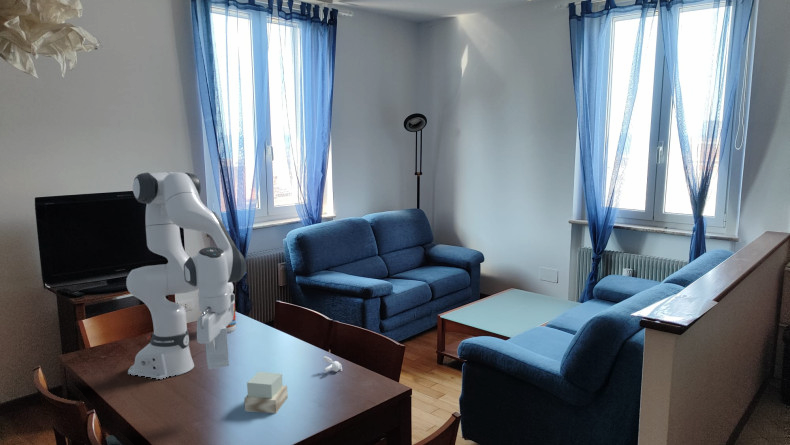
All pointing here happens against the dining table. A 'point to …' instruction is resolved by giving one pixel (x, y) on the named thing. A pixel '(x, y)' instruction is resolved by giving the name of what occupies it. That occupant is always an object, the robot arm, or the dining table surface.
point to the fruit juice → (232, 325)
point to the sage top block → (264, 385)
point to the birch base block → (266, 402)
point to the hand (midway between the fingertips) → (217, 346)
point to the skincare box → (218, 351)
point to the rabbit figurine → (334, 365)
